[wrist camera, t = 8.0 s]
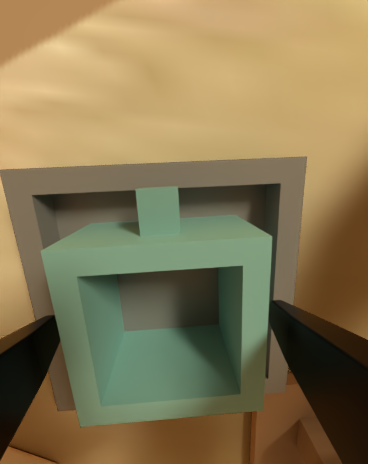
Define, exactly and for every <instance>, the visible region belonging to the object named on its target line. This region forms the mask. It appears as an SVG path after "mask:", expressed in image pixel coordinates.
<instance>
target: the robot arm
mask: <svg viewBox="0 0 368 464" xmlns="http://www.w3.org/2000/svg"><path fill="white" fill-rule="evenodd" d="M269 323H270V326H271V328H272V331H273V333H274V335H275V338H276V340H277V342H278V345H279V347H280V349H281V352H282V354H283V356H284V358H285V361H286V362H287V364H288V366H289V368H290V370H291V372H292V374H293V375H294V377H295V379H296V381H297V383H298V384H299V386H300V388H301V390H302V392H303V394H304V395H305V397H306V399H307V401H308V403H309V404H310V406H311V408H312V410H313V412H314V413H315V415H316V417H317V419H318V421H319V423H320V424H321V426H322V428H323V430H324V432H325V433H326V435H327V437H328V439H329V441H330V443H331V444H332V446H333V448H334V450H335V452H336V453H337V455H338V457H339V459H340V461H341V462H342V464H368V340H367V339H365V338H363V337H360V336H358V335H356V334H354V333H352V332H350V331H347V330H345V329H343V328H341V327H339V326H337V325H334V324H332V323H330V322H328V321H326V320H324V319H321V318H319V317H317V316H315V315H313V314H311V313H308V312H306V311H304V310H302V309H300V308H298V307H295V306H293V305H291V304H289V303H287V302H285V301H282V300H271V301H270V304H269ZM60 341H61V340H60V335H59V331H58V327H57V322H56V318H55V315H47V316H44V317H42V318H40V319H38V320H36V321H34V322H32V323H31V324H29V325H27V326H25V327H23V328H21V329H19V330H17V331H15V332H13V333H11V334H9V335H8V336H6V337H4V338H2V339H0V461H1V459H2V457H3V455H4V453H5V451H6V449H7V448H8V446H9V444H10V442H11V440H12V438H13V436H14V435H15V433H16V431H17V429H18V427H19V425H20V423H21V421H22V420H23V418H24V416H25V414H26V412H27V410H28V408H29V407H30V405H31V403H32V401H33V399H34V397H35V395H36V394H37V392H38V390H39V388H40V386H41V384H42V382H43V380H44V378H45V376H46V374H47V371H48V369H49V367H50V364H51V362H52V360H53V357H54V355H55V353H56V350H57V348H58V346H59V343H60Z"/></svg>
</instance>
